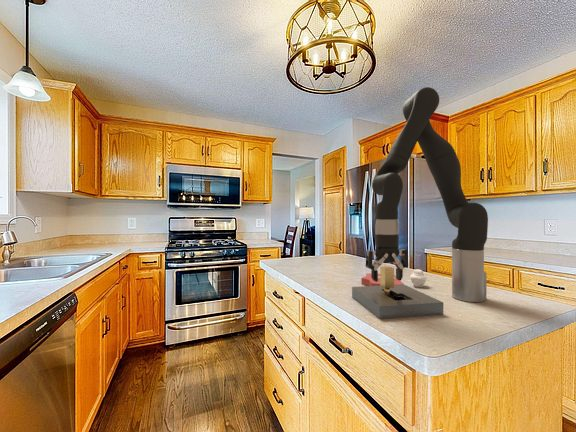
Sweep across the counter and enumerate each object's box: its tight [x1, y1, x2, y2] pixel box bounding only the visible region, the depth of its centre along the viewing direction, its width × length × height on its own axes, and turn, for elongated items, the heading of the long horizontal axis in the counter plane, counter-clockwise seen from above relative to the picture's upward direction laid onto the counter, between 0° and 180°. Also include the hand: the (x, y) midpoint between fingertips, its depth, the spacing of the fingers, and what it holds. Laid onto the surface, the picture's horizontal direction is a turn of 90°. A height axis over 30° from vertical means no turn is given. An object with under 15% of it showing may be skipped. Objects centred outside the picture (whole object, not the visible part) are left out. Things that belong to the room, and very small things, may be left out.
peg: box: [379, 265, 396, 300], centre depth 90 cm, size 5×5×12 cm
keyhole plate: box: [351, 283, 444, 320], centre depth 86 cm, size 20×20×4 cm
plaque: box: [360, 272, 404, 286], centre depth 111 cm, size 18×4×15 cm
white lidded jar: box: [409, 268, 428, 288], centre depth 109 cm, size 6×6×7 cm
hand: (387, 280), depth 90 cm, fingers open, 8 cm apart
